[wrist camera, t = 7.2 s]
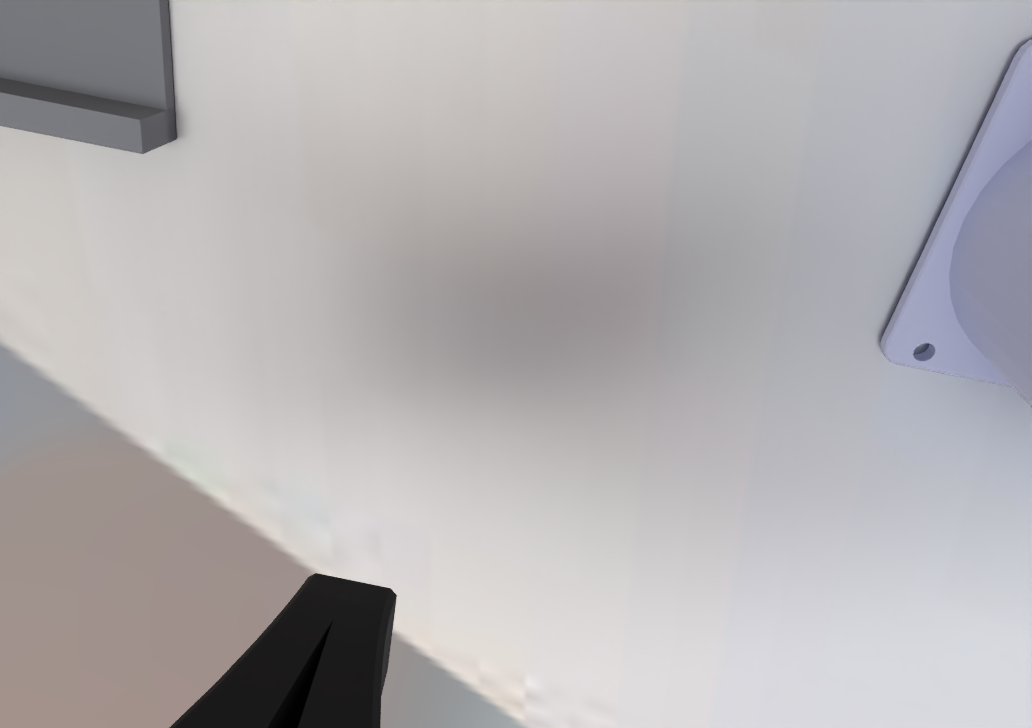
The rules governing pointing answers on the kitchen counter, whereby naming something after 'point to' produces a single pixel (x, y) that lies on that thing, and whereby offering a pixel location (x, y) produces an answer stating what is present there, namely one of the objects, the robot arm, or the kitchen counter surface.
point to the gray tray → (88, 71)
